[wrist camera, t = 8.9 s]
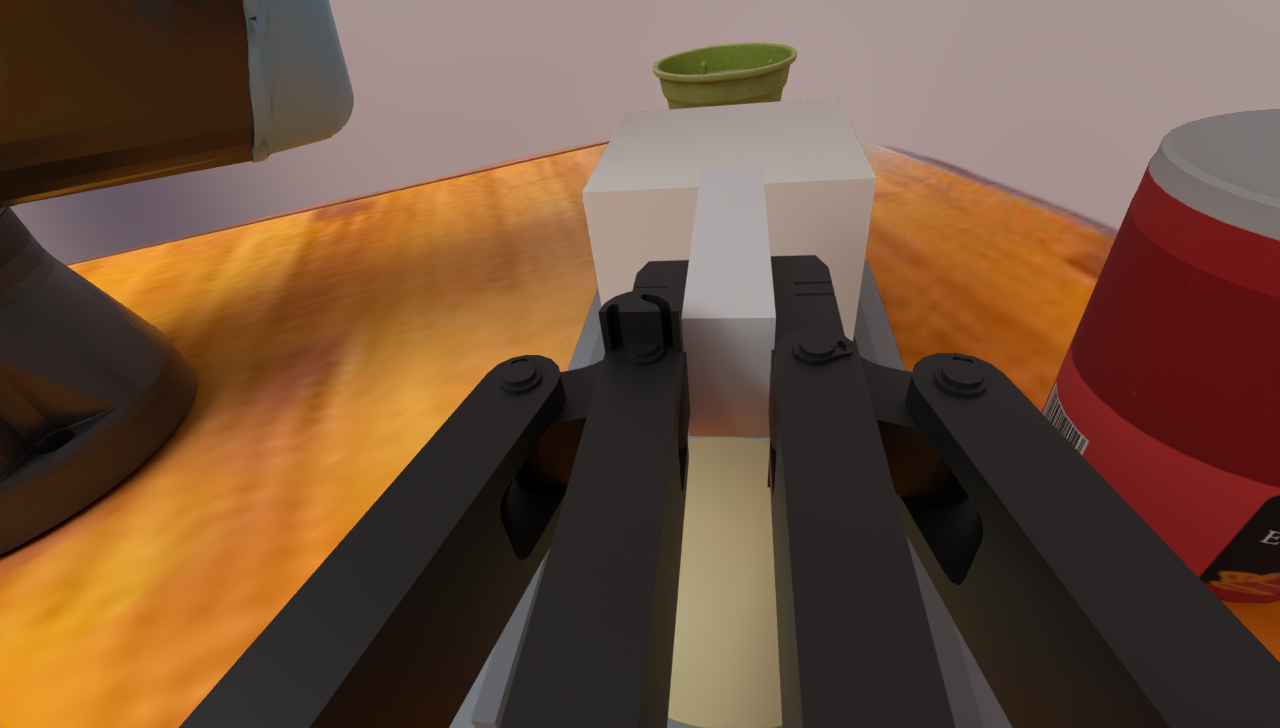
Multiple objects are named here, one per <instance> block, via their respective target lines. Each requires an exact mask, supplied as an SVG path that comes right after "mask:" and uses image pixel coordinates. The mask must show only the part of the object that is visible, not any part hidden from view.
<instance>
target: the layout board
mask: <svg viewBox="0 0 1280 728" xmlns="http://www.w3.org/2000/svg"><path fill="white" fill-rule="evenodd" d="M600 309H601V301H600V295H599V289H598V290H597V292H596V295H595V298H594V300H593V303H592V306H591V308H590V311H589V314H588V317H587V319H586V322H585V325H584V327H583V330H582V333H581V335H580V338H579V341H578V343H577V346H576V349H575V351H574V354H573V357H572V360H571V362H570V365H569V368H568V370H567V371H570V370H574V369H579V368H583V367H586V366H589V365H593V364H595V363H597V362H599V361H601V360H603V358H604V354H605V349H604V343H603V337H602V331H601V326H600V320H599V314H598V312H599V310H600ZM853 342H854V344H855V345H856V347H857V349H858V350H859V353H860V356H861V357H863V358H864V359H866V360H869V361H871V362H873V363H875V364H879V365H882V366H886V367H890V368H894V369H899V370H904V371H905V368H904V365H903V362H902V359H901V356H900V353H899V350H898V348H897V345H896V342H895V339H894V336H893V333H892V330H891V327H890V324H889V321H888V318H887V315H886V313H885V310H884V307H883V304H882V301H881V298H880V295H879V292H878V289H877V286H876V283H875V280H874V278H873V275H872V272H871V269H870V266H869V263H868V261H864V267H863V274H862V281H861V288H860V295H859V302H858V308H857V315H856V322H855V329H854V336H853ZM769 448H770V437H769V438H746V437H703V436H689V431H688V450H689V465H688V477H687V490H686V502H685V514H684V526H683V539H682V551H681V563H680V576H679V588H678V600H677V612H676V625H675V637H674V649H673V661H672V674H671V686H670V698H669V711H668V723H667V728H782V710H781V690H780V670H779V650H778V631H777V611H776V591H775V571H774V552H773V532H772V512H771V492H770V487H767V484H768V466H769ZM907 540H908V544H909V548H910V552H911V556H912V560H913V564H914V567H915V571H916V575H917V579H918V583H919V587H920V591H921V595H922V599H923V603H924V606H925V610H926V614H927V618H928V622H929V626H930V630H931V634H932V638H933V641H934V645H935V649H936V653H937V657H938V661H939V665H940V669H941V673H942V677H943V680H944V684H945V688H946V692H947V696H948V700H949V704H950V708H951V712H952V716H953V719H954V723H955V727H956V728H1012V726H1011V724H1010V722H1009V720H1008V719H1007V717H1006V715H1005V713H1004V711H1003V710H1002V708H1001V706H1000V704H999V702H998V700H997V699H996V697H995V695H994V693H993V691H992V690H991V688H990V686H989V684H988V682H987V681H986V679H985V677H984V675H983V673H982V671H981V670H980V668H979V666H978V664H977V662H976V661H975V659H974V657H973V655H972V653H971V652H970V650H969V648H968V646H967V644H966V643H965V641H964V639H963V637H962V635H961V633H960V632H959V630H958V628H957V626H956V624H955V623H954V621H953V619H952V617H951V615H950V614H949V612H948V610H947V608H946V606H945V604H944V603H943V601H942V599H941V597H940V595H939V594H938V592H937V590H936V588H935V586H934V585H933V583H932V581H931V579H930V577H929V575H928V574H927V572H926V570H925V568H924V566H923V565H922V563H921V561H920V559H919V557H918V556H917V554H916V552H915V550H914V548H913V546H912V545H911V543H910V541H909V539H908V537H907ZM550 547H551V546H550ZM549 550H550V548H549ZM549 550H548V552H547V554H546V555H545V557H544V559H543V561H542V563H541V564H540V566H539V568H538V570H537V571H536V573H535V575H534V577H533V579H532V580H531V582H530V584H529V586H528V588H527V589H526V591H525V593H524V595H523V597H522V598H521V600H520V602H519V604H518V605H517V607H516V609H515V611H514V613H513V614H512V616H511V618H510V620H509V622H508V623H507V625H506V627H505V629H504V630H503V632H502V634H501V636H500V638H499V639H498V641H497V643H496V645H495V647H494V648H493V650H492V652H491V654H490V656H489V657H488V659H487V661H486V663H485V664H484V666H483V668H482V670H481V672H480V673H479V675H478V677H477V679H476V681H475V682H474V684H473V686H472V688H471V689H470V691H469V693H468V695H467V697H466V698H465V700H464V702H463V704H462V706H461V707H460V709H459V711H458V713H457V715H456V716H455V718H454V720H453V722H452V723H451V725H450V727H449V728H500V725H501V721H502V718H503V714H504V711H505V707H506V704H507V700H508V696H509V693H510V689H511V686H512V682H513V679H514V675H515V671H516V668H517V664H518V661H519V657H520V654H521V650H522V647H523V643H524V639H525V636H526V632H527V629H528V625H529V622H530V618H531V614H532V611H533V607H534V604H535V600H536V597H537V593H538V590H539V586H540V582H541V579H542V575H543V572H544V568H545V565H546V561H547V557H548V554H549Z"/></svg>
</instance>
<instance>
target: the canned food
mask: <svg viewBox="0 0 1280 728" xmlns="http://www.w3.org/2000/svg"><path fill="white" fill-rule="evenodd" d="M1042 414H1043V415H1044V416H1045V417H1046V418H1047V419H1048V420H1049V421H1050V423H1051V424H1052V425H1053V426H1054V427H1055V428H1056V429H1057V430H1058V431H1059V432H1060V433H1061V434H1062V435H1063V436H1064V437H1065V438H1066V439H1067V440H1068V441H1069V442H1070V443H1071V444H1072V446H1073V447H1074V448H1075V449H1076V450H1077V451H1078V452H1079V453H1080V454H1081V455H1082V456H1083V457H1084V458H1085V459H1086V460H1087V461H1088V462H1089V463H1090V464H1091V465H1092V466H1093V468H1094V469H1095V470H1096V471H1097V472H1098V473H1099V474H1100V475H1101V476H1102V477H1103V478H1104V479H1105V480H1106V481H1107V482H1108V483H1109V484H1110V485H1111V486H1112V487H1113V488H1114V490H1115V491H1116V492H1117V493H1118V494H1119V495H1120V496H1121V497H1122V498H1123V499H1124V500H1125V501H1126V502H1127V503H1128V504H1129V505H1130V506H1131V507H1132V508H1133V509H1134V510H1135V512H1136V513H1137V514H1138V515H1139V516H1140V517H1141V518H1142V519H1143V520H1144V521H1145V522H1146V523H1147V524H1148V525H1149V526H1150V527H1151V528H1152V529H1153V530H1154V531H1155V532H1156V534H1157V535H1158V536H1159V537H1160V538H1161V539H1162V540H1163V541H1164V542H1165V543H1166V544H1167V545H1168V546H1169V547H1170V548H1171V549H1172V550H1173V551H1174V552H1175V553H1176V554H1177V556H1178V557H1179V558H1180V559H1181V560H1182V561H1183V562H1184V563H1185V564H1186V565H1187V566H1188V567H1189V568H1190V569H1191V570H1192V571H1193V572H1194V573H1195V574H1196V575H1197V576H1198V578H1199V579H1200V580H1201V581H1202V582H1203V583H1204V584H1205V585H1206V586H1207V587H1208V588H1209V589H1210V590H1211V591H1212V592H1213V593H1214V594H1215V595H1216V596H1217V597H1218V598H1219V599H1222V600H1228V601H1234V602H1259V603H1267V602H1273V601H1279V600H1280V109H1271V110H1257V111H1245V112H1237V113H1231V114H1224V115H1217V116H1213V117H1208V118H1204V119H1200V120H1197V121H1192V122H1189V123H1186V124H1184V125H1181V126H1179V127H1177V128H1175V129H1172V130H1171V131H1170V132H1169V133H1168V134H1167V135H1166V136H1165V137H1164V138H1163V139H1162V142H1161V144H1160V146H1159V149H1158V151H1157V152H1156V153H1155V154H1154V156H1153V157H1152V158H1151V160H1150V162H1149V164H1148V167H1147V169H1146V171H1145V173H1144V176H1143V178H1142V180H1141V183H1140V185H1139V187H1138V190H1137V192H1136V193H1135V195H1134V197H1133V199H1132V201H1131V203H1130V206H1129V208H1128V210H1127V213H1126V215H1125V217H1124V220H1123V222H1122V225H1121V227H1120V229H1119V232H1118V234H1117V236H1116V239H1115V241H1114V243H1113V246H1112V248H1111V250H1110V253H1109V255H1108V258H1107V260H1106V262H1105V265H1104V267H1103V269H1102V272H1101V274H1100V276H1099V279H1098V281H1097V283H1096V286H1095V288H1094V291H1093V293H1092V295H1091V298H1090V300H1089V302H1088V305H1087V307H1086V309H1085V312H1084V314H1083V316H1082V319H1081V321H1080V324H1079V326H1078V328H1077V331H1076V333H1075V335H1074V338H1073V340H1072V342H1071V345H1070V347H1069V349H1068V352H1067V354H1066V357H1065V359H1064V361H1063V364H1062V366H1061V368H1060V371H1059V373H1058V375H1057V378H1056V380H1055V382H1054V385H1053V387H1052V389H1051V392H1050V394H1049V397H1048V399H1047V401H1046V404H1045V406H1044V408H1043V411H1042Z"/></svg>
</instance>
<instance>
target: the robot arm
mask: <svg viewBox="0 0 1280 728" xmlns="http://www.w3.org/2000/svg"><path fill="white" fill-rule="evenodd" d="M353 102H354V96H353V91H352V86H351V83H350V79H349V75H348V71H347V67H346V64H345V60H344V56H343V53H342V49H341V45H340V41H339V38H338V34H337V30H336V26H335V22H334V19H333V15H332V11H331V7H330V4H329V0H0V555H1V554H3V553H5V552H7V551H9V550H11V549H13V548H15V547H17V546H19V545H21V544H23V543H25V542H27V541H28V540H30V539H32V538H34V537H36V536H38V535H40V534H41V533H43V532H45V531H47V530H48V529H50V528H52V527H54V526H55V525H57V524H59V523H60V522H62V521H64V520H65V519H67V518H69V517H70V516H72V515H73V514H75V513H76V512H78V511H80V510H81V509H83V508H84V507H86V506H87V505H89V504H90V503H92V502H93V501H95V500H96V499H97V498H99V497H100V496H102V495H103V494H105V493H106V492H107V491H109V490H110V489H111V488H113V487H114V486H115V485H117V484H118V483H119V482H121V481H122V480H123V479H124V478H126V477H127V476H128V475H129V474H131V473H132V472H133V471H134V470H135V469H136V468H138V467H139V466H140V465H141V464H142V463H143V462H144V461H146V460H147V459H148V458H149V457H150V456H151V455H152V454H153V453H154V452H155V451H156V450H157V449H158V448H159V447H160V446H161V445H162V444H163V443H164V442H165V441H166V440H167V438H168V437H169V436H170V435H171V434H172V433H173V431H174V430H175V429H176V428H177V426H178V425H179V424H180V422H181V421H182V419H183V418H184V416H185V415H186V413H187V411H188V409H189V407H190V405H191V403H192V401H193V398H194V395H195V390H196V378H195V374H194V372H193V370H192V369H191V368H190V366H189V365H188V363H187V362H186V361H185V359H184V358H183V357H182V355H181V354H180V353H179V351H178V350H177V349H176V347H175V346H174V345H173V343H172V342H171V341H170V339H169V338H167V337H166V336H165V335H164V334H163V333H162V332H161V331H160V330H159V329H157V328H156V327H154V326H153V325H151V324H150V323H148V322H147V321H145V320H144V319H143V318H141V317H140V316H138V315H137V314H135V313H134V312H133V311H131V310H130V309H128V308H127V307H125V306H124V305H122V304H121V303H120V302H118V301H117V300H115V299H114V298H112V297H111V296H109V295H108V294H107V293H105V292H104V291H102V290H101V289H99V288H98V287H96V286H95V285H94V284H92V283H91V282H89V281H88V280H86V279H85V278H83V277H82V276H80V275H79V274H78V273H76V272H75V271H73V270H72V269H70V268H69V267H67V266H66V265H65V264H63V263H62V262H60V261H59V260H57V259H56V258H54V257H53V256H52V255H50V253H48V252H47V251H46V250H45V249H44V248H43V247H42V246H41V245H40V244H39V243H38V242H37V240H36V239H35V238H34V237H33V235H32V234H31V233H30V232H29V230H28V229H27V228H26V227H25V226H24V224H23V223H22V222H21V221H20V219H19V218H18V217H17V216H16V214H15V213H14V212H13V211H12V209H11V208H10V206H14V205H17V204H22V203H27V202H32V201H38V200H43V199H48V198H54V197H59V196H64V195H70V194H76V193H81V192H86V191H92V190H97V189H102V188H108V187H113V186H119V185H124V184H129V183H135V182H140V181H146V180H151V179H156V178H162V177H167V176H172V175H178V174H183V173H188V172H193V171H199V170H205V169H210V168H216V167H221V166H227V165H232V164H237V163H243V162H248V161H252V162H253V163H255V162H260V161H264V160H266V159H267V158H268V156H269V154H273V153H276V152H280V151H284V150H288V149H292V148H295V147H299V146H303V145H307V144H311V143H314V142H318V141H322V140H326V139H328V138H331V137H332V136H333V135H334V134H336V133H338V131H340V130H341V129H342V128H343V126H345V124H346V123H347V122H348V120H349V118H350V116H351V113H352V109H353ZM598 314H599V320H600V326H601V331H602V337H603V343H604V349H605V354H604V358H603V360H601V361H599V362H597V363H595V364H593V365H589V366H586V367H583V368H579V369H574V370H570V371H565V372H560V370H559V366H558V365H557V364H556V363H555V362H554V361H553V360H552V359H549V358H546V357H543V356H540V355H524V356H519V357H515V358H511V359H509V360H507V361H504V362H502V363H500V364H498V365H497V366H496V367H495V368H493V369H492V370H491V371H490V372H489V373H487V375H486V376H485V377H484V378H483V379H482V380H481V382H480V383H479V384H478V385H477V386H476V387H475V388H474V390H473V391H472V392H471V393H470V394H469V395H468V396H467V398H466V399H465V400H464V401H463V402H462V403H461V404H460V406H459V407H458V408H457V409H456V410H455V411H454V412H453V414H452V415H451V416H450V417H449V418H448V419H447V421H446V422H445V423H444V424H443V425H442V426H441V427H440V429H439V430H438V431H437V432H436V433H435V434H434V435H433V437H432V438H431V439H430V440H429V441H428V442H427V443H426V445H425V446H424V447H423V448H422V449H421V450H420V452H419V453H418V454H417V455H416V456H415V457H414V458H413V460H412V461H411V462H410V463H409V464H408V465H407V466H406V468H405V469H404V470H403V471H402V472H401V473H400V474H399V476H398V477H397V478H396V479H395V480H394V481H393V482H392V484H391V485H390V486H389V487H388V488H387V489H386V491H385V492H384V493H383V494H382V495H381V496H380V497H379V499H378V500H377V501H376V502H375V503H374V504H373V505H372V507H371V508H370V509H369V510H368V511H367V512H366V513H365V515H364V516H363V517H362V518H361V519H360V520H359V522H358V523H357V524H356V525H355V526H354V527H353V528H352V530H351V531H350V532H349V533H348V534H347V535H346V536H345V538H344V539H343V540H342V541H341V542H340V543H339V544H338V546H337V547H336V548H335V549H334V550H333V551H332V553H331V554H330V555H329V556H328V557H327V558H326V559H325V561H324V562H323V563H322V564H321V565H320V566H319V567H318V569H317V570H316V571H315V572H314V573H313V574H312V575H311V577H310V578H309V579H308V580H307V581H306V582H305V583H304V585H303V586H302V587H301V588H300V589H299V590H298V592H297V593H296V594H295V595H294V596H293V597H292V598H291V600H290V601H289V602H288V603H287V604H286V605H285V606H284V608H283V609H282V610H281V611H280V612H279V613H278V614H277V616H276V617H275V618H274V619H273V620H272V621H271V623H270V624H269V625H268V626H267V627H266V628H265V629H264V631H263V632H262V633H261V634H260V635H259V636H258V637H257V639H256V640H255V641H254V642H253V643H252V644H251V645H250V647H249V648H248V649H247V650H246V651H245V652H244V653H243V655H242V656H241V657H240V658H239V659H238V660H237V662H236V663H235V664H234V665H233V666H232V667H231V668H230V670H229V671H228V672H227V673H226V674H225V675H224V676H223V678H222V679H221V680H220V681H219V682H218V683H217V684H216V686H215V687H214V688H213V689H212V690H211V691H210V693H209V694H208V695H207V696H206V697H205V698H204V699H203V701H202V702H201V703H200V704H199V705H198V706H197V707H196V709H195V710H194V711H193V712H192V713H191V714H190V715H189V717H188V718H187V719H186V720H185V721H184V722H183V723H182V725H181V726H180V727H179V728H449V727H450V725H451V723H452V722H453V720H454V718H455V716H456V715H457V713H458V711H459V709H460V707H461V706H462V704H463V702H464V700H465V698H466V697H467V695H468V693H469V691H470V689H471V688H472V686H473V684H474V682H475V681H476V679H477V677H478V675H479V673H480V672H481V670H482V668H483V666H484V664H485V663H486V661H487V659H488V657H489V656H490V654H491V652H492V650H493V648H494V647H495V645H496V643H497V641H498V639H499V638H500V636H501V634H502V632H503V630H504V629H505V627H506V625H507V623H508V622H509V620H510V618H511V616H512V614H513V613H514V611H515V609H516V607H517V605H518V604H519V602H520V600H521V598H522V597H523V595H524V593H525V591H526V589H527V588H528V586H529V584H530V582H531V580H532V579H533V577H534V575H535V573H536V571H537V570H538V568H539V566H540V564H541V563H542V561H543V559H544V557H545V555H546V554H547V552H548V550H549V548H550V550H549V554H548V557H547V561H546V565H545V568H544V572H543V575H542V579H541V582H540V586H539V590H538V593H537V597H536V600H535V604H534V607H533V611H532V614H531V618H530V622H529V625H528V629H527V632H526V636H525V639H524V643H523V647H522V650H521V654H520V657H519V661H518V664H517V668H516V671H515V675H514V679H513V682H512V686H511V689H510V693H509V696H508V700H507V704H506V707H505V711H504V714H503V718H502V721H501V725H500V728H667V723H668V711H669V698H670V686H671V674H672V661H673V649H674V637H675V625H676V612H677V600H678V588H679V576H680V563H681V551H682V539H683V526H684V514H685V502H686V490H687V477H688V465H689V450H688V431H689V436H703V437H746V438H769V437H770V448H769V466H768V484H767V487H770V492H771V512H772V532H773V552H774V571H775V591H776V611H777V631H778V650H779V670H780V690H781V710H782V728H956V727H955V723H954V719H953V716H952V712H951V708H950V704H949V700H948V696H947V692H946V688H945V684H944V680H943V677H942V673H941V669H940V665H939V661H938V657H937V653H936V649H935V645H934V641H933V638H932V634H931V630H930V626H929V622H928V618H927V614H926V610H925V606H924V603H923V599H922V595H921V591H920V587H919V583H918V579H917V575H916V571H915V567H914V564H913V560H912V556H911V552H910V548H909V544H908V540H907V537H908V539H909V541H910V543H911V545H912V546H913V548H914V550H915V552H916V554H917V556H918V557H919V559H920V561H921V563H922V565H923V566H924V568H925V570H926V572H927V574H928V575H929V577H930V579H931V581H932V583H933V585H934V586H935V588H936V590H937V592H938V594H939V595H940V597H941V599H942V601H943V603H944V604H945V606H946V608H947V610H948V612H949V614H950V615H951V617H952V619H953V621H954V623H955V624H956V626H957V628H958V630H959V632H960V633H961V635H962V637H963V639H964V641H965V643H966V644H967V646H968V648H969V650H970V652H971V653H972V655H973V657H974V659H975V661H976V662H977V664H978V666H979V668H980V670H981V671H982V673H983V675H984V677H985V679H986V681H987V682H988V684H989V686H990V688H991V690H992V691H993V693H994V695H995V697H996V699H997V700H998V702H999V704H1000V706H1001V708H1002V710H1003V711H1004V713H1005V715H1006V717H1007V719H1008V720H1009V722H1010V724H1011V726H1012V728H1280V662H1279V661H1278V660H1277V659H1276V658H1275V657H1274V656H1273V655H1272V654H1271V653H1270V652H1269V651H1268V650H1267V649H1266V648H1265V647H1264V646H1263V645H1262V644H1261V642H1260V641H1259V640H1258V639H1257V638H1256V637H1255V636H1254V635H1253V634H1252V633H1251V632H1250V631H1249V630H1248V629H1247V628H1246V627H1245V626H1244V625H1243V624H1242V623H1241V622H1240V620H1239V619H1238V618H1237V617H1236V616H1235V615H1234V614H1233V613H1232V612H1231V611H1230V610H1229V609H1228V608H1227V607H1226V606H1225V605H1224V604H1223V603H1222V602H1221V601H1220V600H1219V598H1218V597H1217V596H1216V595H1215V594H1214V593H1213V592H1212V591H1211V590H1210V589H1209V588H1208V587H1207V586H1206V585H1205V584H1204V583H1203V582H1202V581H1201V580H1200V579H1199V578H1198V576H1197V575H1196V574H1195V573H1194V572H1193V571H1192V570H1191V569H1190V568H1189V567H1188V566H1187V565H1186V564H1185V563H1184V562H1183V561H1182V560H1181V559H1180V558H1179V557H1178V556H1177V554H1176V553H1175V552H1174V551H1173V550H1172V549H1171V548H1170V547H1169V546H1168V545H1167V544H1166V543H1165V542H1164V541H1163V540H1162V539H1161V538H1160V537H1159V536H1158V535H1157V534H1156V532H1155V531H1154V530H1153V529H1152V528H1151V527H1150V526H1149V525H1148V524H1147V523H1146V522H1145V521H1144V520H1143V519H1142V518H1141V517H1140V516H1139V515H1138V514H1137V513H1136V512H1135V510H1134V509H1133V508H1132V507H1131V506H1130V505H1129V504H1128V503H1127V502H1126V501H1125V500H1124V499H1123V498H1122V497H1121V496H1120V495H1119V494H1118V493H1117V492H1116V491H1115V490H1114V488H1113V487H1112V486H1111V485H1110V484H1109V483H1108V482H1107V481H1106V480H1105V479H1104V478H1103V477H1102V476H1101V475H1100V474H1099V473H1098V472H1097V471H1096V470H1095V469H1094V468H1093V466H1092V465H1091V464H1090V463H1089V462H1088V461H1087V460H1086V459H1085V458H1084V457H1083V456H1082V455H1081V454H1080V453H1079V452H1078V451H1077V450H1076V449H1075V448H1074V447H1073V446H1072V444H1071V443H1070V442H1069V441H1068V440H1067V439H1066V438H1065V437H1064V436H1063V435H1062V434H1061V433H1060V432H1059V431H1058V430H1057V429H1056V428H1055V427H1054V426H1053V425H1052V424H1051V423H1050V421H1049V420H1048V419H1047V418H1046V417H1045V416H1044V415H1043V414H1042V413H1041V412H1040V411H1039V410H1038V409H1037V408H1036V407H1035V406H1034V405H1033V404H1032V403H1031V402H1030V401H1029V399H1028V398H1027V397H1026V396H1025V395H1024V394H1023V393H1022V392H1021V391H1020V390H1019V389H1018V388H1017V387H1016V386H1015V385H1014V384H1013V383H1012V382H1011V381H1010V380H1009V379H1008V377H1007V376H1006V375H1005V374H1004V373H1002V372H1001V371H1000V370H998V369H997V368H996V367H994V366H993V365H992V364H990V363H988V362H985V361H983V360H981V359H978V358H976V357H973V356H968V355H963V354H957V353H937V354H934V355H931V356H927V357H924V358H922V359H921V360H920V361H919V362H918V363H916V364H915V365H914V368H913V372H909V371H904V370H899V369H894V368H890V367H886V366H882V365H879V364H875V363H873V362H871V361H869V360H866V359H864V358H863V357H861V356H860V353H859V350H858V349H857V347H856V345H855V344H854V342H853V341H851V340H850V339H848V338H847V337H846V336H845V334H844V330H843V325H842V321H841V317H840V313H839V309H838V304H837V300H836V296H835V292H834V288H833V284H832V279H831V275H830V271H829V267H828V266H827V265H826V264H825V263H823V262H822V261H821V260H820V259H819V258H818V257H817V256H816V255H797V256H770V245H769V234H768V223H767V211H766V200H765V189H764V178H763V166H762V165H758V166H739V167H719V168H701V172H700V180H699V188H698V195H697V203H696V211H695V218H694V226H693V234H692V241H691V249H690V257H689V260H674V261H649V262H648V263H647V264H646V265H645V266H644V267H643V268H642V269H641V270H640V271H639V272H638V273H637V274H636V278H635V282H634V285H633V290H632V291H631V292H626V293H623V294H620V295H618V296H615V297H613V298H612V299H610V300H609V301H607V302H606V303H604V304H603V306H602V307H601V309H600V310H599V312H598ZM550 546H551V547H550Z"/></svg>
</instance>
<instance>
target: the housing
mask: <svg viewBox="0 0 1280 728" xmlns="http://www.w3.org/2000/svg"><path fill="white" fill-rule="evenodd" d="M758 165H762V166H763V178H764V189H765V200H766V211H767V223H768V234H769V245H770V256H797V255H816V256H817V257H818V258H819V259H820V260H821V261H822V262H823V263H825V264H826V265H827V266H828V267H829V271H830V275H831V279H832V284H833V288H834V292H835V296H836V300H837V304H838V309H839V313H840V317H841V321H842V325H843V330H844V334H845V336H846V337H847V338H848V339H850V340H851V341H853V336H854V329H855V322H856V315H857V308H858V302H859V295H860V288H861V281H862V274H863V267H864V261H865V254H866V247H867V240H868V233H869V227H870V220H871V213H872V206H873V199H874V193H875V186H876V179H877V178H876V176H875V174H874V171H873V169H872V167H871V165H870V163H869V161H868V159H867V157H866V155H865V152H864V150H863V148H862V146H861V144H860V142H859V140H858V138H857V136H856V134H855V131H854V129H853V127H852V125H851V123H850V121H849V119H848V117H847V115H846V112H845V110H844V108H843V107H842V104H841V102H840V100H839V98H838V97H833V98H820V99H806V100H793V101H779V102H765V103H752V104H738V105H724V106H711V107H697V108H684V109H670V110H657V111H643V112H630V113H625V115H624V117H623V119H622V120H621V122H620V124H619V126H618V128H617V129H616V131H615V133H614V135H613V137H612V139H611V140H610V142H609V144H608V146H607V148H606V149H605V151H604V153H603V155H602V157H601V159H600V160H599V162H598V164H597V166H596V168H595V170H594V171H593V173H592V175H591V177H590V179H589V181H588V182H587V184H586V186H585V188H584V190H583V192H582V197H583V202H584V208H585V214H586V220H587V226H588V231H589V237H590V243H591V249H592V254H593V260H594V266H595V272H596V278H597V283H598V289H599V295H600V301H601V307H602V306H603V304H604V303H606V302H607V301H609V300H610V299H612V298H613V297H615V296H618V295H620V294H623V293H626V292H631V291H632V290H633V285H634V282H635V278H636V274H637V273H638V272H639V271H640V270H641V269H642V268H643V267H644V266H645V265H646V264H647V263H648V262H649V261H674V260H689V257H690V249H691V241H692V234H693V226H694V218H695V211H696V203H697V195H698V188H699V180H700V172H701V168H719V167H739V166H758Z"/></svg>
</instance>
